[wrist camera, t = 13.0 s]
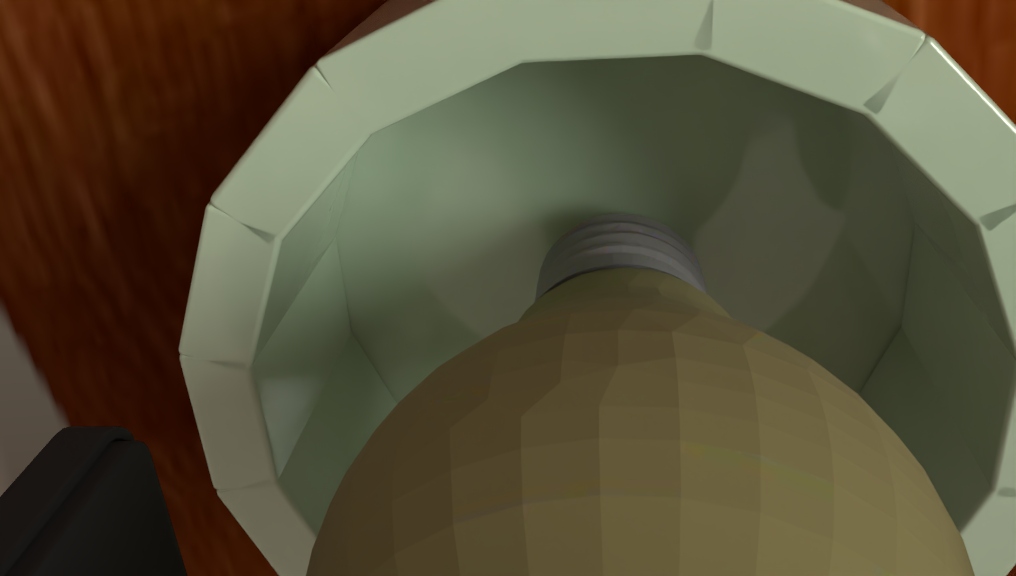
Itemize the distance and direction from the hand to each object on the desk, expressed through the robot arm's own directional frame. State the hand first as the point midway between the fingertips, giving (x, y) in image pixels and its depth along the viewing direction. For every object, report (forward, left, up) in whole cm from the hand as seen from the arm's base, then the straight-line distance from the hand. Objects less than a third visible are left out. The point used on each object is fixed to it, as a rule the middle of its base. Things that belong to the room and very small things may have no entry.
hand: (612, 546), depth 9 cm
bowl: (0, 0, -6) cm, 6 cm away
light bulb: (0, 0, -6) cm, 6 cm away
